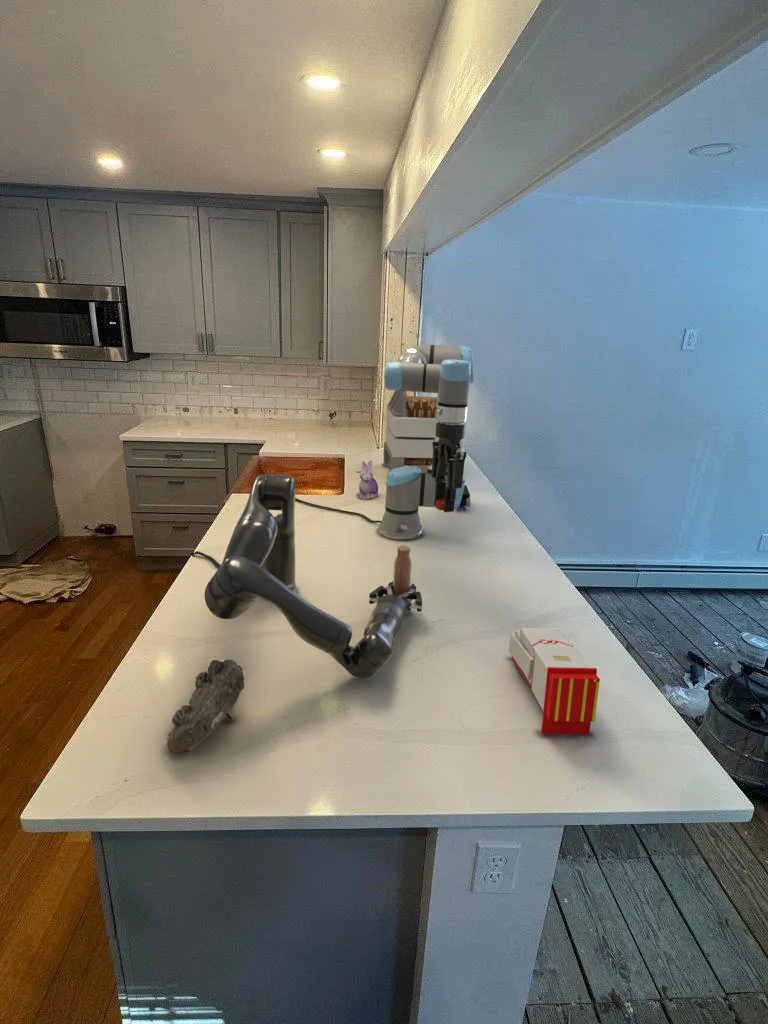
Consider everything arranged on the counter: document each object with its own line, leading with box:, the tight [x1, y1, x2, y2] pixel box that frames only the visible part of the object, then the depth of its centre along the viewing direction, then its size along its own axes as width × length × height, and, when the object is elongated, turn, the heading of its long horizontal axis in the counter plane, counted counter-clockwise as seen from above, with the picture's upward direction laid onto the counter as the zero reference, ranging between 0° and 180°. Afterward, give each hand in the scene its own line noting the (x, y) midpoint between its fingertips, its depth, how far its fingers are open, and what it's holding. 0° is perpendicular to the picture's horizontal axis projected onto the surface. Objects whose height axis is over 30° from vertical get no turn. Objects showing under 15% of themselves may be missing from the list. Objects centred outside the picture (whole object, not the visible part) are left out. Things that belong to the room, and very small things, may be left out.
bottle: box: [392, 544, 413, 615], centre depth 146 cm, size 4×4×18 cm
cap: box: [435, 499, 445, 512], centre depth 153 cm, size 4×4×2 cm
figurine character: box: [456, 484, 471, 512], centre depth 229 cm, size 7×8×15 cm
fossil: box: [166, 658, 245, 754], centre depth 106 cm, size 22×10×15 cm
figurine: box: [358, 460, 379, 500], centre depth 236 cm, size 9×10×15 cm
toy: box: [508, 627, 601, 735], centre depth 119 cm, size 12×13×30 cm
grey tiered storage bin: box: [383, 391, 464, 472], centre depth 268 cm, size 34×33×41 cm
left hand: (403, 585), depth 149 cm, fingers closed on bottle, 4 cm apart
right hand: (443, 508), depth 153 cm, fingers closed on cap, 4 cm apart
